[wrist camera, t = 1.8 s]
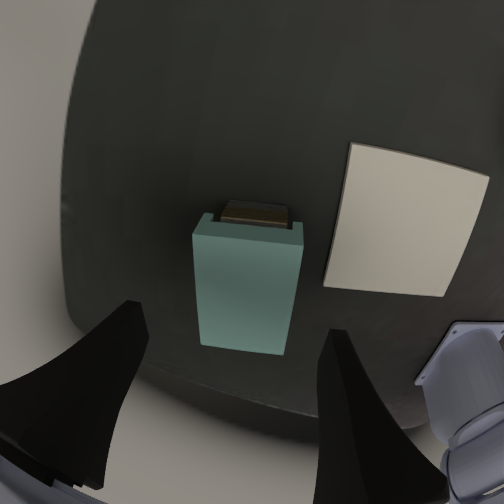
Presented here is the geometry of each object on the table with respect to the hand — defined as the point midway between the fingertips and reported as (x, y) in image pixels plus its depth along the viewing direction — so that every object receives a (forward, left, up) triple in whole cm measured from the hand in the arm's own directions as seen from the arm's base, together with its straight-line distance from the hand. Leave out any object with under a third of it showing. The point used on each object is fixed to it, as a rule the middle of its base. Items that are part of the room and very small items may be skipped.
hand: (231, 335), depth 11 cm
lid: (-2, 0, -6) cm, 6 cm away
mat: (+1, -10, -10) cm, 14 cm away
